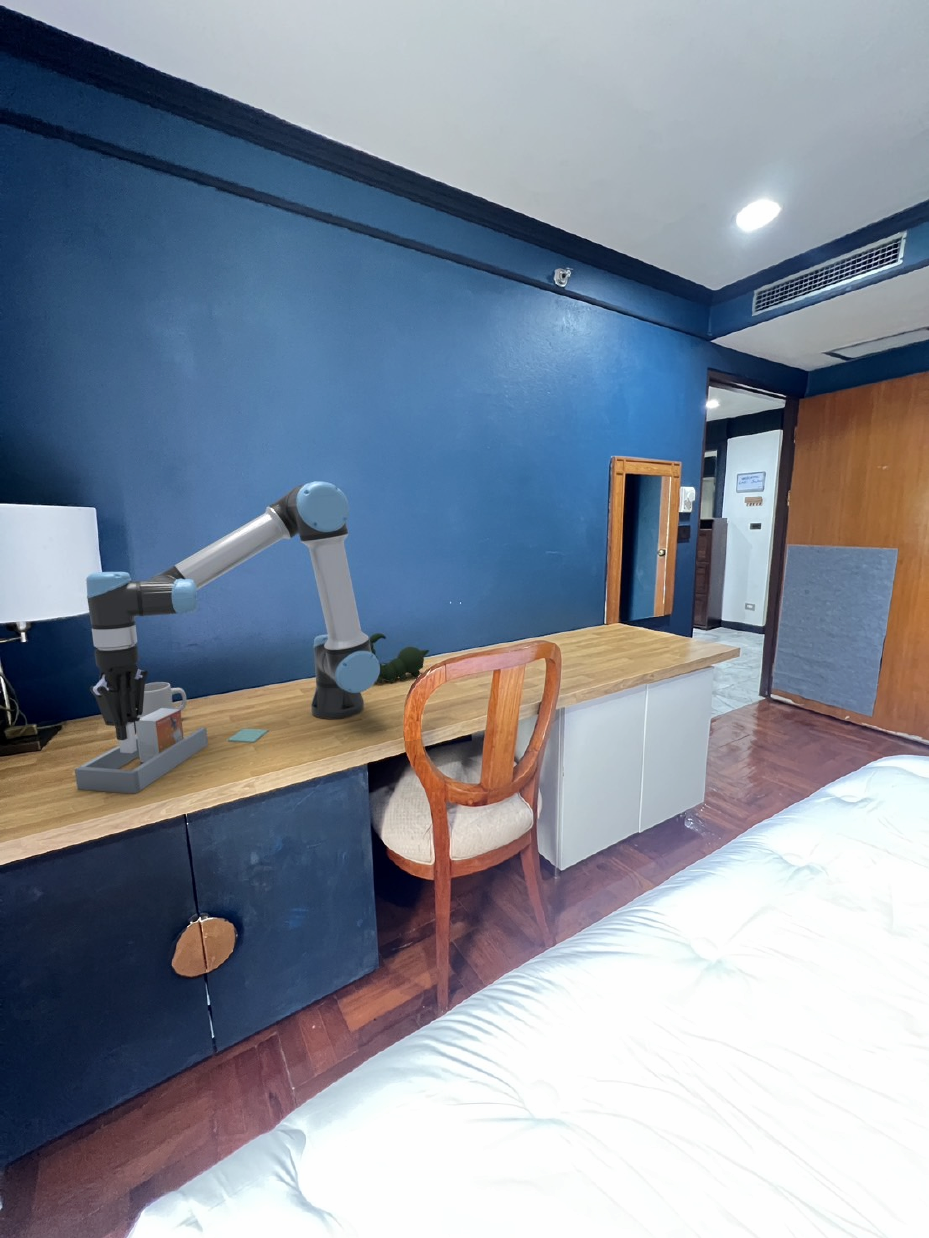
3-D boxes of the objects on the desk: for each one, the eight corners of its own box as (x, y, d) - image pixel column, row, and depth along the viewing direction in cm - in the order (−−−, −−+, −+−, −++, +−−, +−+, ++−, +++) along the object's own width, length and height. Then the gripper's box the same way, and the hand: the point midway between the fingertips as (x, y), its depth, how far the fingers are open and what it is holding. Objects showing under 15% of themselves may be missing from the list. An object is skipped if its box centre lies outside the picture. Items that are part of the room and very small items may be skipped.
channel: (207, 744, 124) (206, 727, 123) (135, 793, 102) (133, 773, 101) (159, 741, 126) (157, 724, 125) (77, 789, 103) (74, 769, 102)
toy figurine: (374, 693, 166) (437, 674, 180) (367, 639, 162) (432, 624, 175) (363, 686, 174) (424, 668, 187) (356, 634, 170) (419, 620, 183)
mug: (140, 733, 131) (135, 694, 128) (136, 723, 137) (131, 686, 135) (191, 722, 138) (187, 684, 136) (185, 713, 144) (181, 677, 142)
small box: (160, 764, 114) (154, 721, 112) (139, 762, 115) (133, 719, 113) (186, 749, 121) (181, 708, 119) (166, 747, 123) (161, 707, 121)
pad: (268, 731, 132) (267, 730, 132) (253, 742, 125) (253, 741, 125) (243, 730, 133) (243, 728, 133) (228, 741, 126) (227, 739, 126)
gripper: (124, 638, 111) (136, 737, 115) (72, 652, 98) (87, 763, 102) (155, 640, 110) (165, 740, 114) (106, 654, 97) (119, 766, 101)
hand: (128, 751), depth 108 cm, fingers closed
